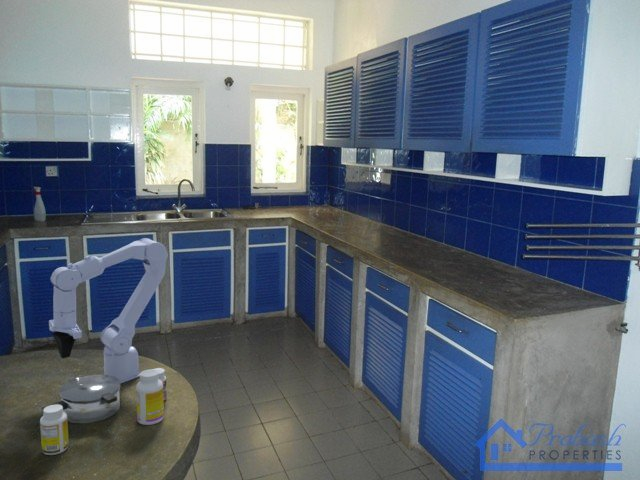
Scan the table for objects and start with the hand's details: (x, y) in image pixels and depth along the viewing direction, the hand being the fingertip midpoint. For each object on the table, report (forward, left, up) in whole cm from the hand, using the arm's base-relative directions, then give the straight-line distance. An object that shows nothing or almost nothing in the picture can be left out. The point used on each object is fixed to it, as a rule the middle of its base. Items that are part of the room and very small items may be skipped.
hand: (65, 356), depth 144 cm
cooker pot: (+4, +15, -10) cm, 19 cm away
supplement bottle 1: (+16, +26, -11) cm, 33 cm away
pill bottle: (-14, +23, -11) cm, 29 cm away
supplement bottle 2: (-6, +31, -11) cm, 33 cm away
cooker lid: (+1, +16, -5) cm, 17 cm away
